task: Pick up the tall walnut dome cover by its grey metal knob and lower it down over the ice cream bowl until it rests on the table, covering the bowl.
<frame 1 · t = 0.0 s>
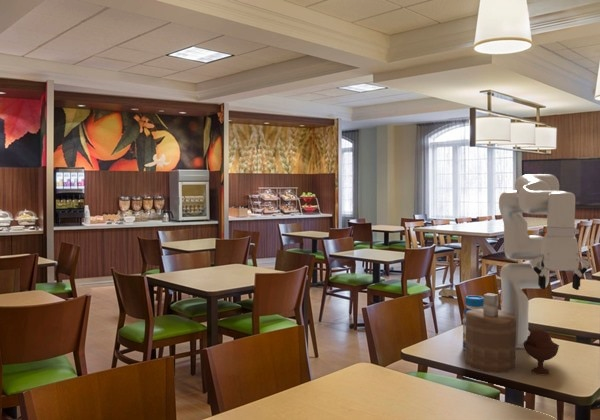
hand: (558, 288, 166), 31 cm above the table, tool pointing down, fingers open, 9 cm apart
ice cream bowl: (540, 372, 183), on the table
walnut cover: (489, 363, 191), on the table
beverage bottle: (473, 349, 207), on the table
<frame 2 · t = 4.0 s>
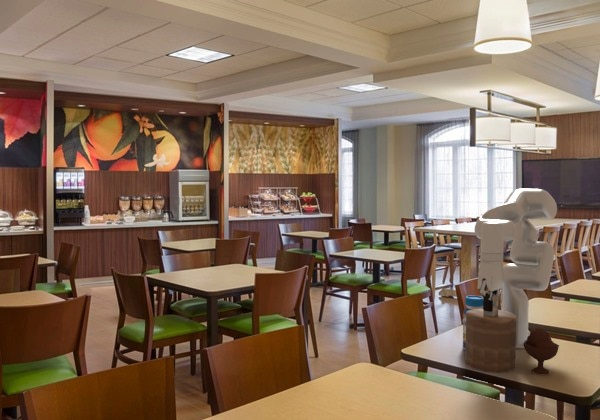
hand: (490, 309, 189), 19 cm above the table, tool pointing down, fingers closed on walnut cover, 3 cm apart
walnut cover: (489, 363, 191), on the table, touching gripper
everything else where it was.
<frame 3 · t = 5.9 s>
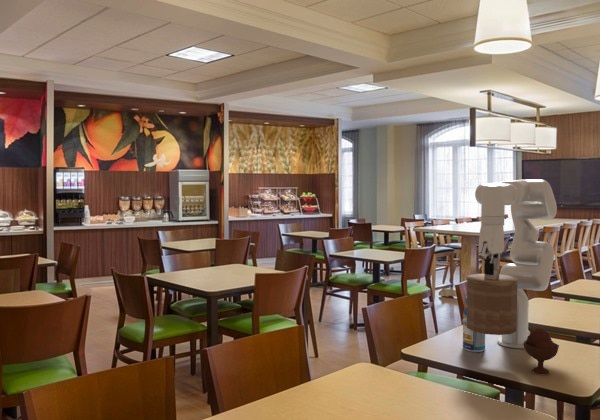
hand: (491, 273, 189), 32 cm above the table, tool pointing down, fingers closed on walnut cover, 3 cm apart
walnut cover: (491, 327, 190), point 13 cm above the table, touching gripper
everything else where it was.
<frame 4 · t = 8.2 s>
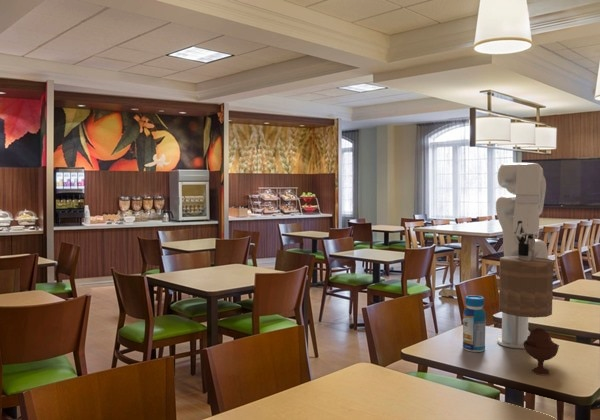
hand: (526, 254, 183), 39 cm above the table, tool pointing down, fingers closed on walnut cover, 3 cm apart
walnut cover: (524, 311, 184), point 20 cm above the table, touching gripper
everything else where it was.
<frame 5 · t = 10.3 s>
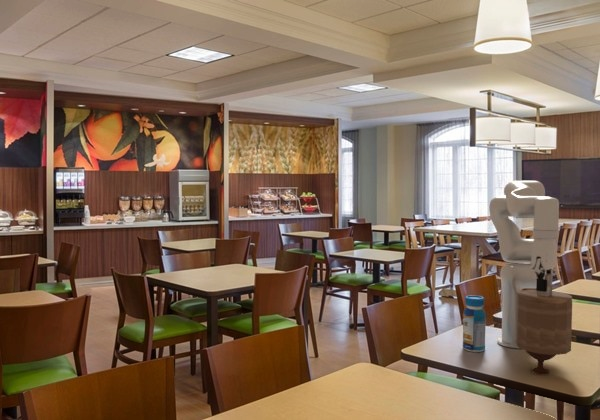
hand: (544, 289, 181), 28 cm above the table, tool pointing down, fingers closed on walnut cover, 3 cm apart
walnut cover: (542, 346, 182), point 9 cm above the table, touching gripper
everything else where it was.
when the fingers open (21 cm above the table, at t = 12.3 s): walnut cover drops 1 cm, on the table.
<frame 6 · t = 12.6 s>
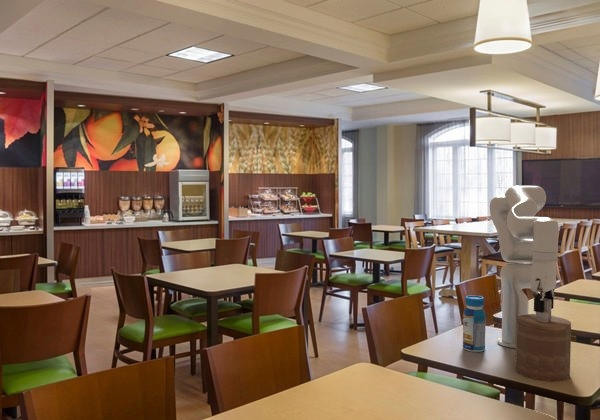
hand: (543, 309, 181), 21 cm above the table, tool pointing down, fingers open, 6 cm apart
walnut cover: (541, 372, 183), on the table
everything else where it was.
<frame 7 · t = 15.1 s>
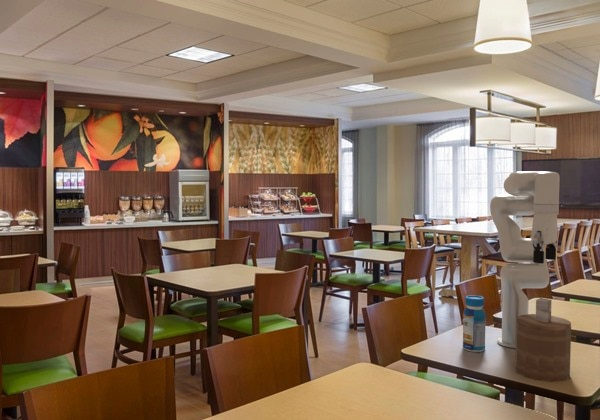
hand: (544, 261, 180), 37 cm above the table, tool pointing down, fingers open, 9 cm apart
nothing on the table moved.
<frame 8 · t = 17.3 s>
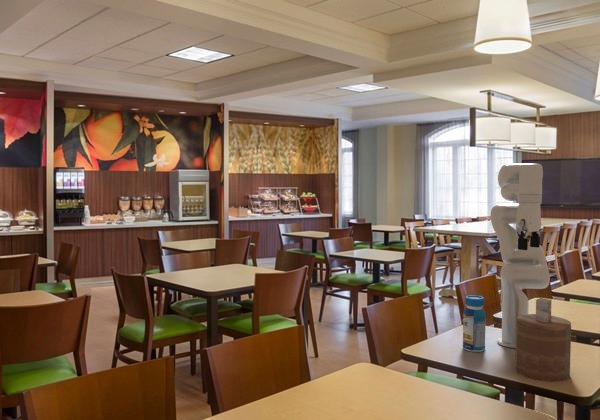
hand: (528, 248, 190), 40 cm above the table, tool pointing down, fingers open, 9 cm apart
nothing on the table moved.
at the end: walnut cover 0.5 cm from the ice cream bowl (horizontally); walnut cover on the table; walnut cover tilted 0° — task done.
